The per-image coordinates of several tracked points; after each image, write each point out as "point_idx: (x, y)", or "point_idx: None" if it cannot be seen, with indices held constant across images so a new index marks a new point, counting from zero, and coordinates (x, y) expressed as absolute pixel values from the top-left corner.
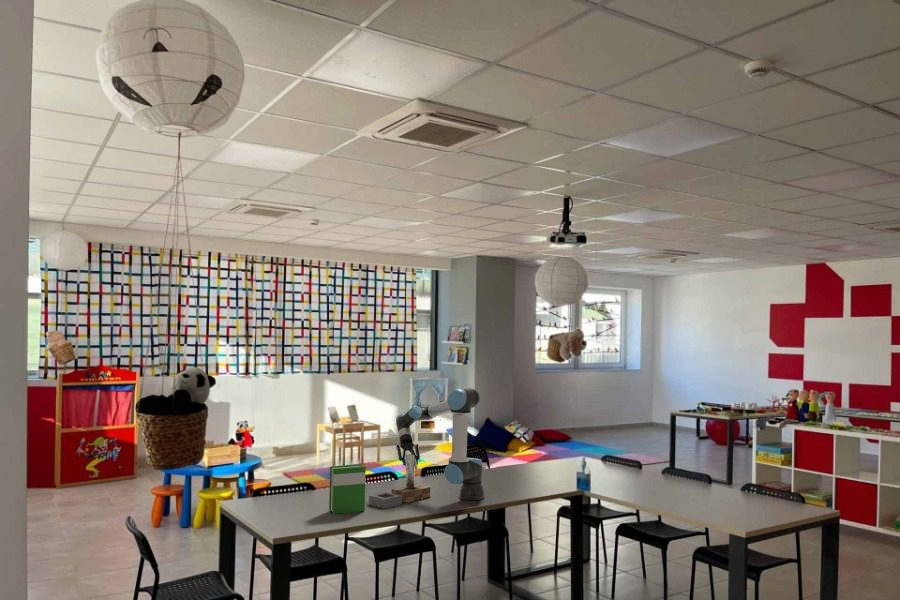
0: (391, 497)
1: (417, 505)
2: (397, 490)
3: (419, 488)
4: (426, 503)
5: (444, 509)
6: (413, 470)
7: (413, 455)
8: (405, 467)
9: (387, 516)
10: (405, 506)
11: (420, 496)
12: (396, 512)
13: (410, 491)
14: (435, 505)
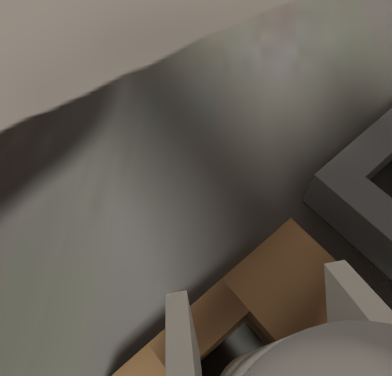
0: (379, 131)
1: (207, 180)
2: None
3: None
4: (149, 224)
5: (81, 101)
6: (230, 367)
7: (249, 367)
8: None
9: (349, 9)
10: (277, 162)
11: None
12: (316, 60)
13: (253, 250)
14: (106, 175)
